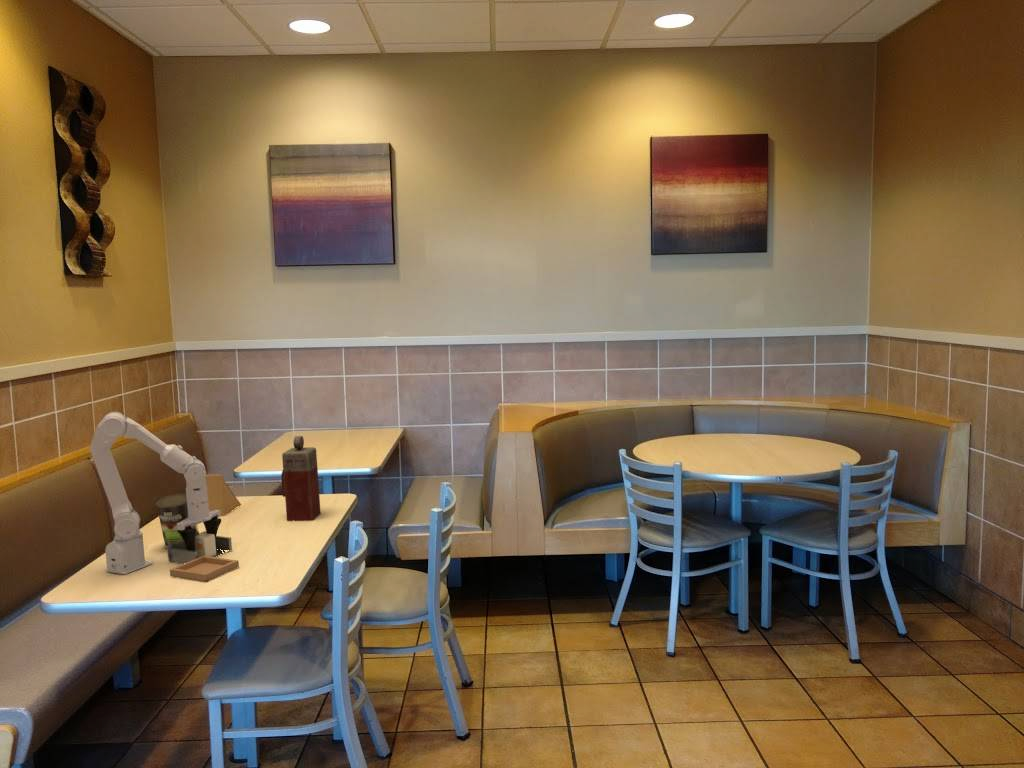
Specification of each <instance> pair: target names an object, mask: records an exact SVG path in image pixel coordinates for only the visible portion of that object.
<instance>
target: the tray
mask: <svg viewBox="0 0 1024 768" xmlns="http://www.w3.org/2000/svg"><path fill="white" fill-rule="evenodd" d="M237 567H239V568H240V565H239V560H237V559H230V558H222V557H210V556H202V557H199V558H197V559H194V560H192V561H190V562H187V563H185V564H179V565H177V566H175V567H173V568H170V569H169V575H170V576H172V577H171V578H176V577H179V578H178V579H183V578H184V579H185V580H189V579H190V581H195V580H197V582H203V583H207V582H209V580H210V581H212V580H214V579H216V578H219V577H221V576H223V575H225V574H227V573H226V572H228V571H230V572H232V571H234V570H236V569H235V568H237ZM233 569H234V570H233ZM237 569H238V568H237ZM231 570H232V571H231ZM224 573H225V574H224ZM228 573H229V572H228ZM222 574H223V575H222ZM220 575H221V576H220ZM218 576H219V577H218ZM215 577H216V578H215Z"/></svg>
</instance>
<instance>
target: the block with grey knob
mask: <svg viewBox="0 0 1024 768" xmlns="http://www.w3.org/2000/svg"><path fill="white" fill-rule="evenodd" d="M187 550H188V549H187ZM195 551H197V555H198V558H199V557H202V556H210V557H211V556H214V555H216V545H215V535H214V534H206V533H201V532H200V531H199V530H198V531H196V535H195Z"/></svg>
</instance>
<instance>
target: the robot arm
mask: <svg viewBox="0 0 1024 768" xmlns="http://www.w3.org/2000/svg"><path fill="white" fill-rule="evenodd" d="M122 435H124V436H123V439H135V440H137V441H139V442H140V443H142V444H143V445H145V446H147V447H148V448H150V449H151V450H152V451H153V452H156V453H158V454H159V457H160V462H162V463H164V464H165V465H167V466H168V467H169V468H171V469H172V470H174V471H175V472H177V473H178V474H182V475H183V476H184V477H183V478H184V479H185V483H186V487H185V493H186V497H187V508H188V518H186V519H185V520H183V521H181V522H179V523H177V531H178V533H179V534H180V535H181V537H182V538H183V540H184V542H185V544H186V547H187V549H188V550H194V551H195V535H196V531H197V529H192V528H191V526H194V525H196V524H197V525H198V524H201V523H203V525H204V529H205V531H206V533H207V534H214V535H215V540H216V536H218V535H217V534H218V531H219V530H218V529H219V527H220V525H221V524H222V518H220V517H222V516H221V515H220V510H214V511H210V512H209V505H208V494H207V485H206V479H205V477H206V475H207V471H206V467H205V465H204V464H205V463H203V462H202V461H201V459H197V457H196V456H195V455H190V454H189V453H187V452H186V451H185V450H183V446H181V445H180V444H178V445H176V444H175V443H173V444H166V443H165V442H164V441H162V439H160V438H159V437H157V436H156V435H154V434H153V433H152V432H150V431H149V430H148V429H147V428H145V427H144V426H142V425H141V424H139V423H138V422H136V421H135V420H134V419H132V418H130V417H126V416H125V415H124V414H122V412H119V411H110V412H108V413H106V415H104V417H103V418H102V419H101V420H100V421H99V423H98V425H97V426H96V429H95V432H94V434H93V437H92V440H91V443H90V446H89V451H90V454H91V456H92V459H93V462H94V464H95V467H96V469H97V472H98V475H99V478H100V481H101V484H102V486H103V489H104V492H105V494H106V497H107V499H108V502H109V505H110V508H111V511H112V513H111V514H112V517H113V521H114V527H113V532H114V534H115V535H114V539H113V541H111V542H109V543H107V545H106V546H105V550H104V551H105V559H106V560H105V561H106V569H105V572H107V573H114V574H120V575H127V574H129V573H132V572H134V571H137V570H141V569H143V568H145V567H148V566H150V565H152V564H153V562H152V561H149V560H148V561H147V560H146V556H145V547H144V535H143V531H141V530H140V524H141V516H140V514H139V513H138V512H137V511H136V510H134V508H133V506H132V503H131V501H130V500H129V497H128V495H127V491H126V489H125V487H124V484H123V483H124V482H123V481H122V479H121V475H120V472H119V470H118V467H117V464H116V462H115V460H114V456H113V453H112V451H111V448H112V447H113V445H114V443H115V441H116V440H118V439H119V438H120V437H122Z"/></svg>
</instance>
